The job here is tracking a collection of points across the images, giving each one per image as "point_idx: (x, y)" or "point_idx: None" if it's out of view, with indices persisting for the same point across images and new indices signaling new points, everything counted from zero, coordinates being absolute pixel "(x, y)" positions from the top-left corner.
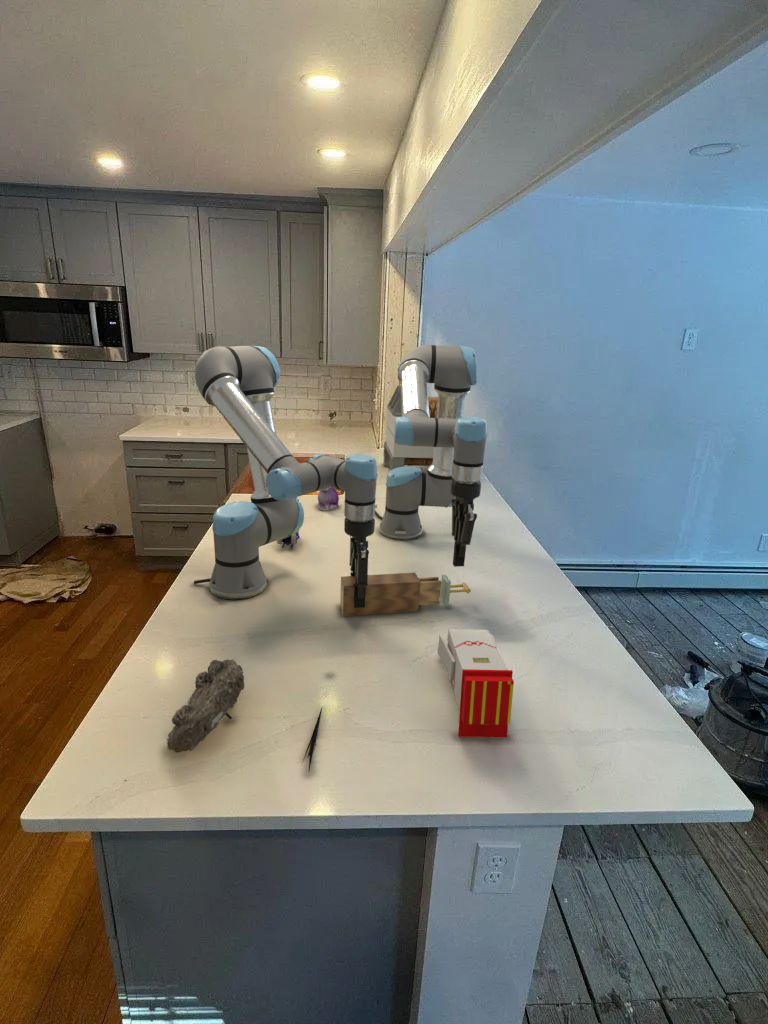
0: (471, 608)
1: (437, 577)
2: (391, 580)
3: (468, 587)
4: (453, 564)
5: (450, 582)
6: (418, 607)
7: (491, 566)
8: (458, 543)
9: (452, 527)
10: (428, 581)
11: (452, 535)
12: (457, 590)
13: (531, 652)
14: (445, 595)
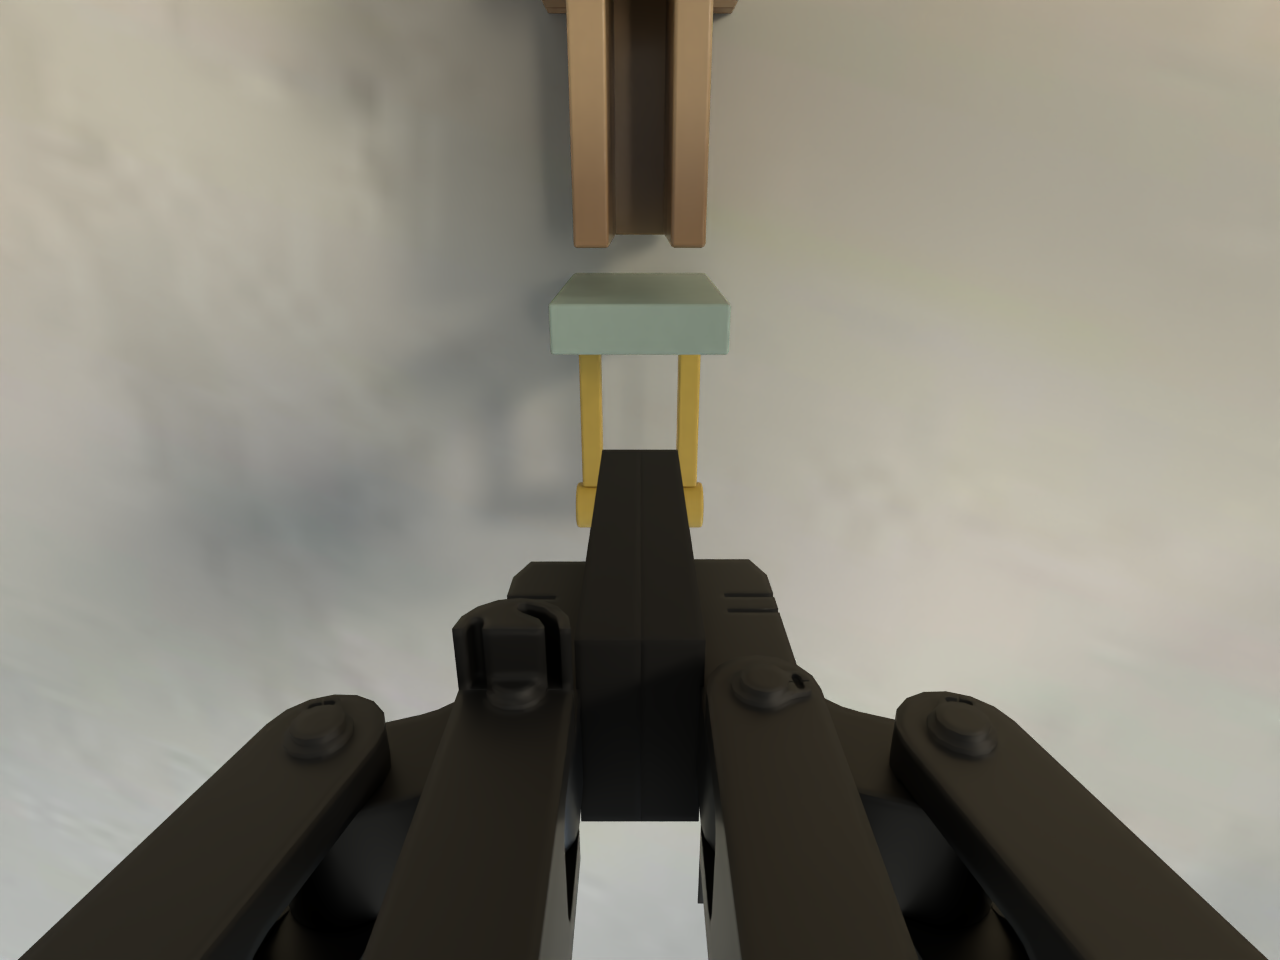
0: (552, 475)
1: (684, 234)
2: None
3: None
4: (640, 454)
5: (551, 350)
6: (542, 1)
7: (1113, 800)
8: (464, 684)
9: (1121, 872)
10: (595, 80)
11: (943, 696)
12: (583, 412)
13: (20, 636)
14: (565, 285)
